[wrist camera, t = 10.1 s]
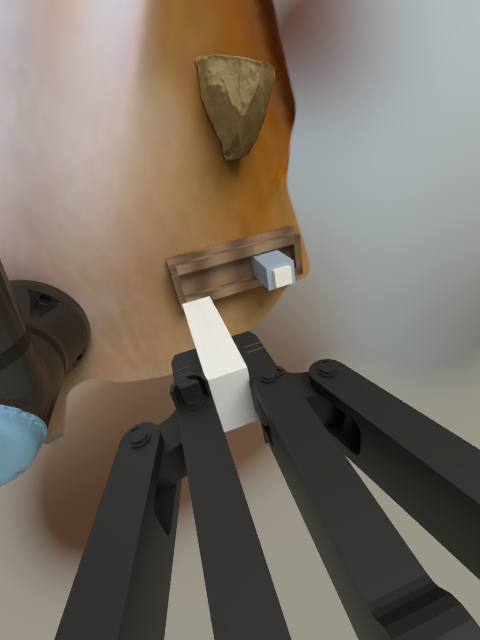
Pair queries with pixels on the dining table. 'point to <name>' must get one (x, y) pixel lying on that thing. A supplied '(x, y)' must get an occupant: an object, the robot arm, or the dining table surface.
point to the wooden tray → (229, 265)
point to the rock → (235, 99)
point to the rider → (273, 269)
